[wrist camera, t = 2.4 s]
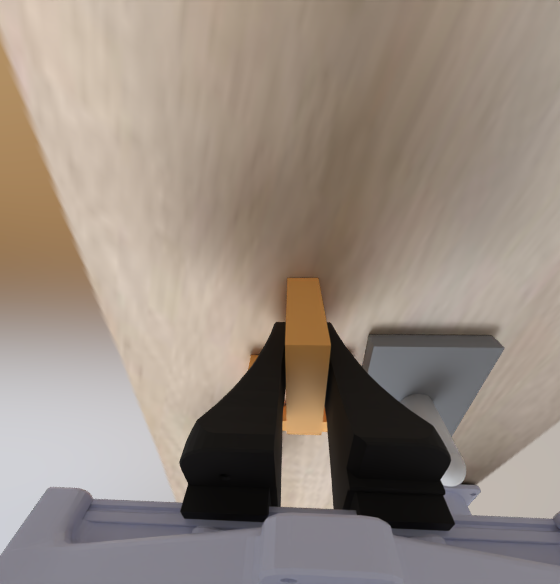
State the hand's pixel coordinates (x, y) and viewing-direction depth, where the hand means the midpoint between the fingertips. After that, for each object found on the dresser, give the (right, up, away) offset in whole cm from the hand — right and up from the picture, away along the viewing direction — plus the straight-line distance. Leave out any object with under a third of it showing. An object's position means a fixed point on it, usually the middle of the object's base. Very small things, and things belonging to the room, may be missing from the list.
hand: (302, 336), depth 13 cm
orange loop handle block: (0, -2, +3) cm, 3 cm away
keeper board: (+8, -7, +5) cm, 11 cm away
